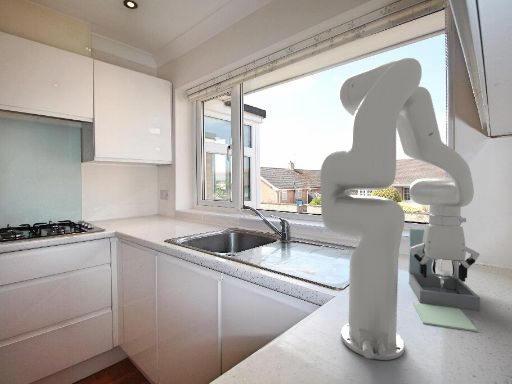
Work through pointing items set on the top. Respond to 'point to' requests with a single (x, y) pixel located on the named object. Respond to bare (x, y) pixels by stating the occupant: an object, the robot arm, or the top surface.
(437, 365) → the top surface
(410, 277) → the case
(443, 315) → the mat
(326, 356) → the top surface
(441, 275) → the wineglass
